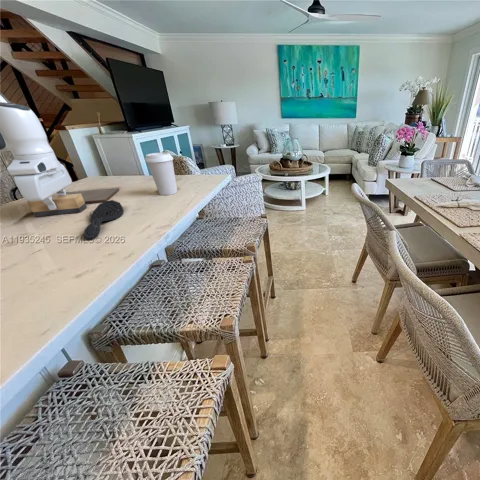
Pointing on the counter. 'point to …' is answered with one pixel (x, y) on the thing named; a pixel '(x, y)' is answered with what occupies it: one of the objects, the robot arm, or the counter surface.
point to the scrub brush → (59, 205)
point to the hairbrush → (102, 217)
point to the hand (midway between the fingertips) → (59, 205)
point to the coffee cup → (162, 172)
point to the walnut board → (96, 195)
